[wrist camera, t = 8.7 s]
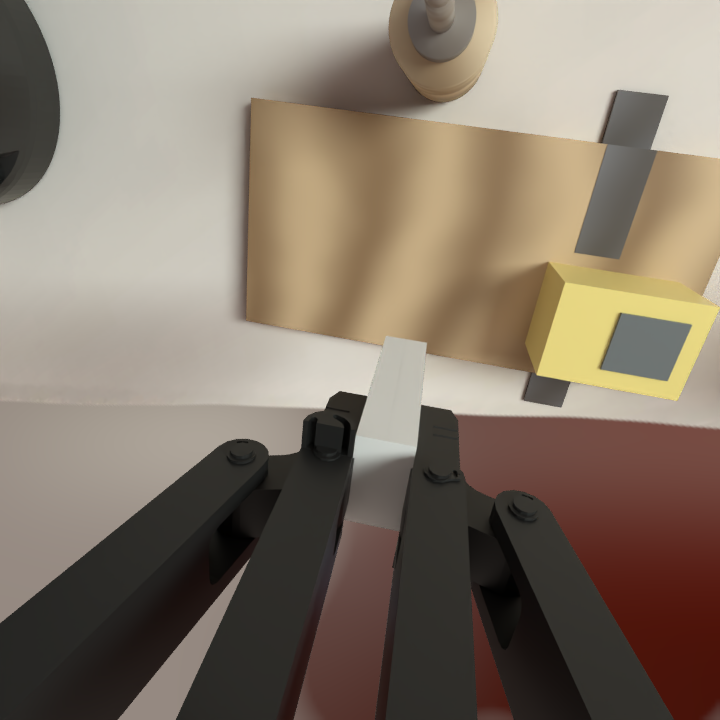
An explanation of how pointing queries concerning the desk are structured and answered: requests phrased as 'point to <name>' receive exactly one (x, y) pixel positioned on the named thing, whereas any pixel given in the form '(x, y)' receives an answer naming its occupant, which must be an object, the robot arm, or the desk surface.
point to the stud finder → (617, 330)
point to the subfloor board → (461, 224)
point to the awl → (442, 43)
